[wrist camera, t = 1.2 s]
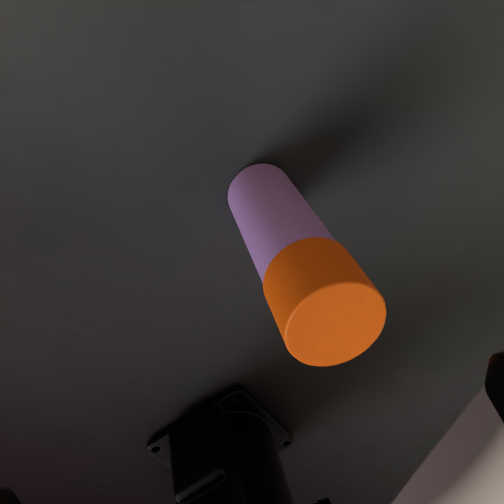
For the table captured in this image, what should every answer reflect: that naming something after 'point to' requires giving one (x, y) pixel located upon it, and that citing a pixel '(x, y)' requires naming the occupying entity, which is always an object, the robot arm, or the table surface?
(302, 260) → the glue stick
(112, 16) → the table surface
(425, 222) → the table surface
